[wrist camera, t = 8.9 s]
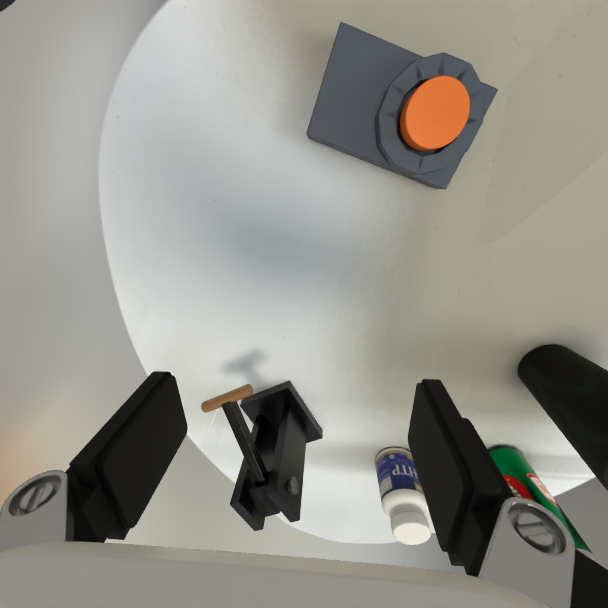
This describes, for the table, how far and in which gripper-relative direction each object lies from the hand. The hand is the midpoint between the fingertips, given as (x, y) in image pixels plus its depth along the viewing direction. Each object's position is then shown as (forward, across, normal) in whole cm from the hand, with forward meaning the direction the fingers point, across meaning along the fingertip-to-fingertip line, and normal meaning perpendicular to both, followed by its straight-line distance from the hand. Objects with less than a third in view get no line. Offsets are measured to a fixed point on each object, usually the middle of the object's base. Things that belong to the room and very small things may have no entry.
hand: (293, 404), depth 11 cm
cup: (+19, -25, +11) cm, 34 cm away
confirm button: (+16, -8, -12) cm, 21 cm away
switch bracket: (+19, +4, +20) cm, 28 cm away
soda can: (+19, -24, +26) cm, 40 cm away
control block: (+19, -6, -12) cm, 24 cm away
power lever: (+12, +6, +16) cm, 21 cm away
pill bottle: (+19, -11, +27) cm, 35 cm away
